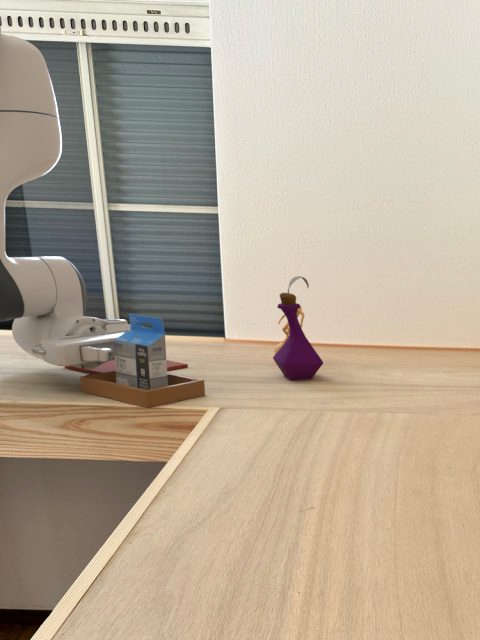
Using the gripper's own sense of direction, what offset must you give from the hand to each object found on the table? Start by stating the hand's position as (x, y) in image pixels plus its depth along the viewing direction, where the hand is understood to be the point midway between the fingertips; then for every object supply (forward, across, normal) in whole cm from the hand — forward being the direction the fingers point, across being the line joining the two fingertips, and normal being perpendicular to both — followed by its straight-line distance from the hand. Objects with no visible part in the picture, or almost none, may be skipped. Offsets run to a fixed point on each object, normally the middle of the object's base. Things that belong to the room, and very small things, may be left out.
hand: (134, 351), depth 118 cm
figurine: (0, +38, +7) cm, 39 cm away
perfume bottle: (+12, +27, +7) cm, 30 cm away
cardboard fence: (+2, 0, +7) cm, 7 cm away
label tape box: (+2, 0, +7) cm, 7 cm away
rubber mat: (-18, +12, +7) cm, 23 cm away
